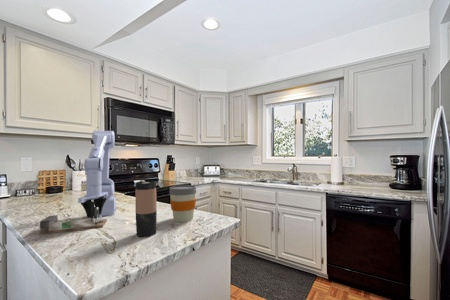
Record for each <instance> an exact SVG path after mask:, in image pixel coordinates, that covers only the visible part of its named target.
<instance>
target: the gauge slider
mask: <svg viewBox="0 0 450 300" xmlns="http://www.w3.org/2000/svg"><path fill="white" fill-rule="evenodd" d="M102 217H103V216H102V215H99V207H98V206H96V207H95V206H94V209H93V216H92V217H91V218H88V219H91V222H93V218H95V223H96V222H99V221H100V220H101V219H102Z"/></svg>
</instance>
